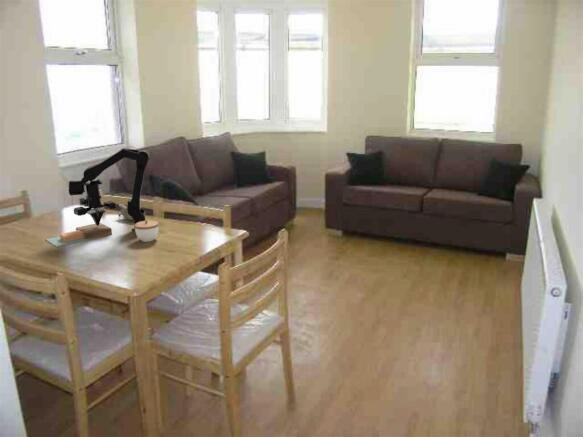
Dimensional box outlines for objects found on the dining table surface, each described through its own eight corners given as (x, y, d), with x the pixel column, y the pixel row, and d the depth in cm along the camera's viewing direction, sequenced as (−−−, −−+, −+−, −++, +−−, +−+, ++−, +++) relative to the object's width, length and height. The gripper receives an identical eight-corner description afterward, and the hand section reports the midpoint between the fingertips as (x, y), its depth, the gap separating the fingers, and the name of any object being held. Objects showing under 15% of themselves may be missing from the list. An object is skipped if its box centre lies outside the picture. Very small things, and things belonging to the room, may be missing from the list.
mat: (87, 240, 252) (87, 239, 252) (56, 247, 243) (56, 246, 243) (75, 233, 262) (75, 232, 262) (45, 239, 253) (45, 239, 253)
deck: (112, 234, 260) (111, 228, 259) (87, 239, 252) (86, 233, 252) (100, 228, 269) (100, 222, 269) (76, 233, 262) (75, 227, 261)
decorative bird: (133, 223, 277) (132, 209, 275) (116, 218, 287) (115, 204, 285) (143, 221, 281) (141, 207, 279) (125, 216, 291) (124, 202, 289)
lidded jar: (135, 244, 245) (133, 224, 243) (135, 237, 255) (133, 218, 252) (160, 242, 248) (158, 222, 245) (159, 235, 258) (157, 216, 255)
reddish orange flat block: (84, 237, 254) (84, 232, 254) (65, 242, 249) (64, 236, 248) (79, 234, 259) (78, 229, 258) (60, 239, 253) (59, 234, 252)
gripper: (104, 187, 268) (108, 218, 273) (67, 194, 256) (71, 226, 261) (114, 191, 260) (118, 222, 265) (76, 198, 248) (80, 231, 253)
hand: (97, 225), depth 261 cm, fingers closed
